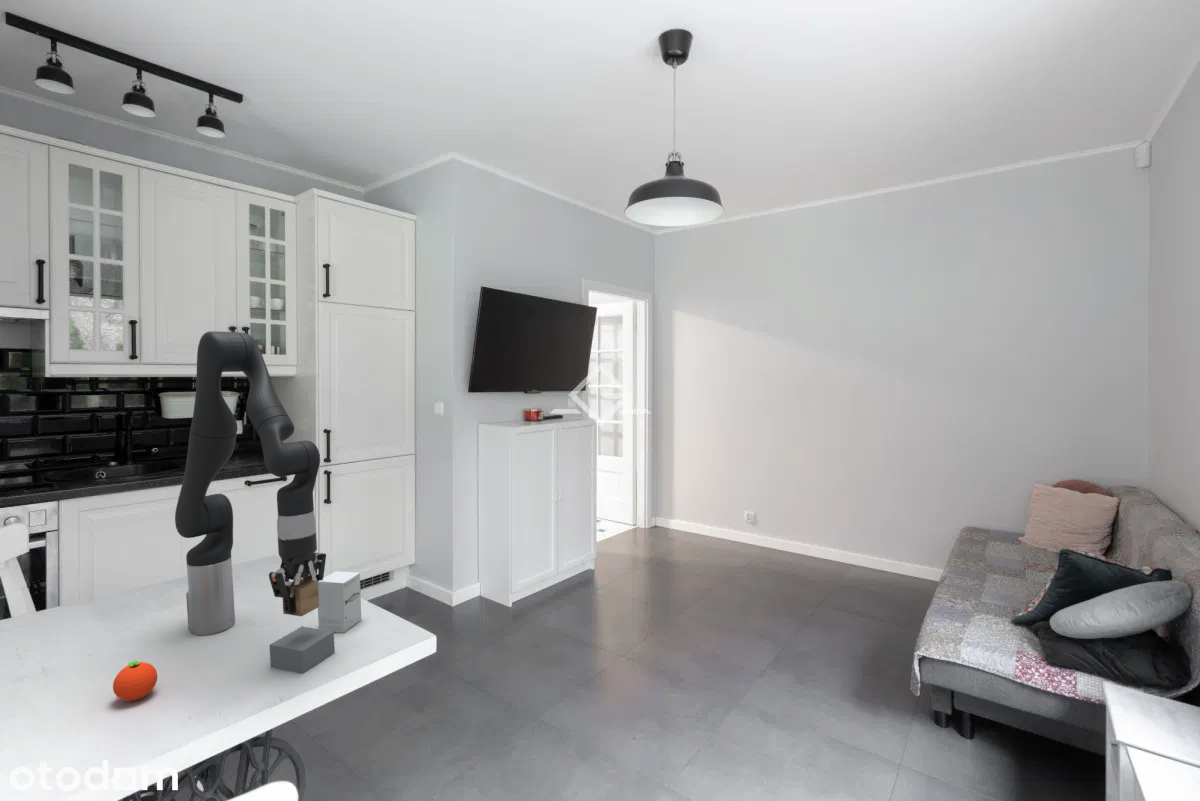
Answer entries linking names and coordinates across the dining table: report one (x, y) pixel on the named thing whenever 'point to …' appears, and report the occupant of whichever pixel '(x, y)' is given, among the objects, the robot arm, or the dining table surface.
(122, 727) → the dining table surface
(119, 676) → the clementine
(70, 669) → the dining table surface
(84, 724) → the dining table surface
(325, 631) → the base
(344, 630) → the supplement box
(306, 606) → the walnut block
